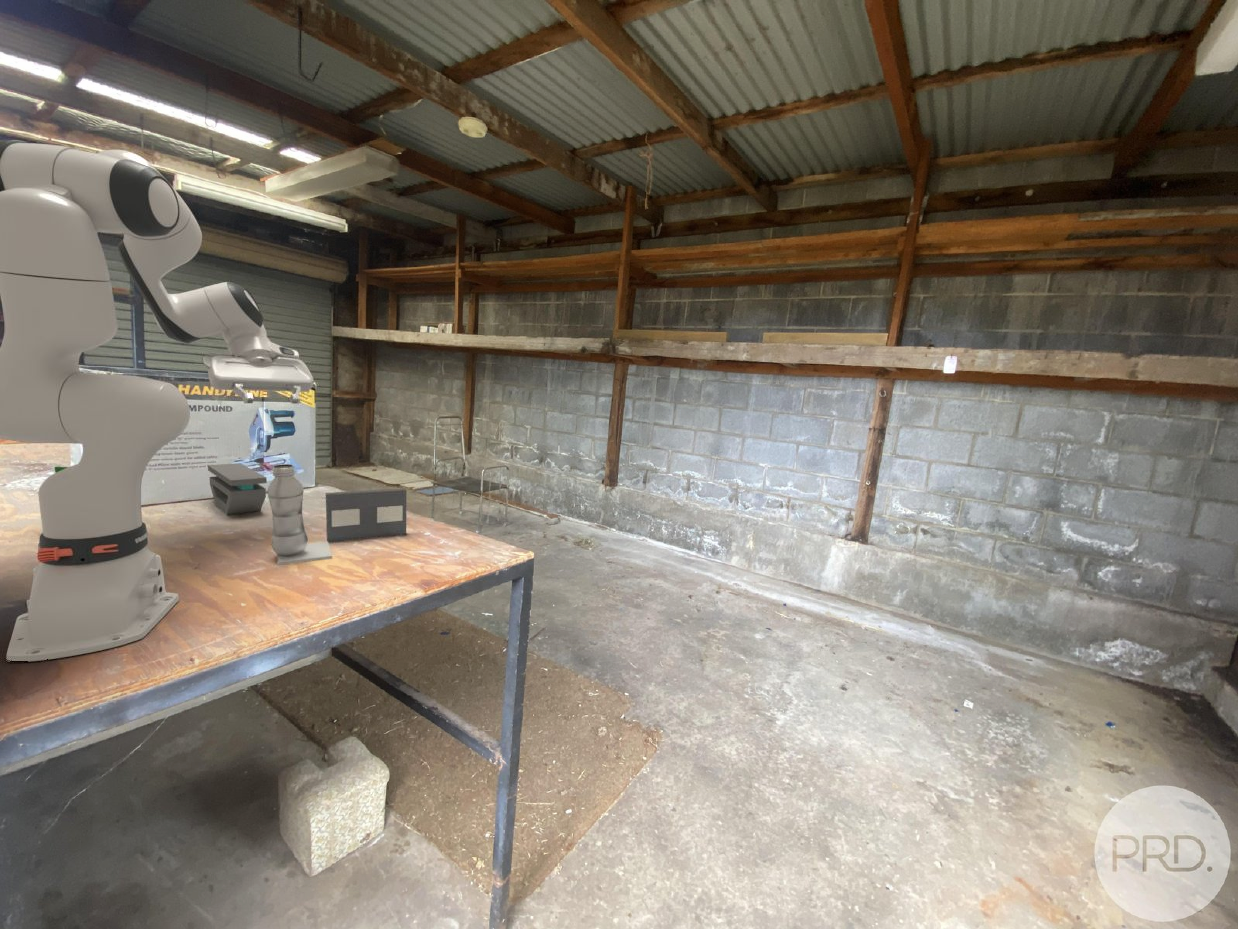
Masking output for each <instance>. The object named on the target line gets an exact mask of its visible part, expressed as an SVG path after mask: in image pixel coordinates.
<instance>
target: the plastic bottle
mask: <svg viewBox="0 0 1238 929" xmlns="http://www.w3.org/2000/svg"><path fill="white" fill-rule="evenodd" d="M295 474H296V471H295V467H294V465H293V464H291V463H290V464H289V463H281V464H275V465H273V466H272V476H274V477H273V479H272V481H271V482H270V483H269V485H268V487H267V489H266V495H267V498H268V500H269V501H268V502H269V505H270V509H271V516H272V536H271V547H272V550H273V552H274V553H275V554H276V555H277V556H278V555H293V554H297V553H300V552H302V551H303V550H304V549H305V548H306V546H307V543H308V541H309V540H308V536H307V532H306V530H305V524H304V520H303V519H304V518H303V500H304V490H305V489H304V486H303V484H302V483H301V482H300V480H298V479H297V478H296V477H295Z"/></svg>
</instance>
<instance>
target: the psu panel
mask: <svg viewBox="0 0 1238 929" xmlns="http://www.w3.org/2000/svg"><path fill="white" fill-rule="evenodd" d="M325 518H326V519H325V521H326V522H325V523H326V525H325V526H326V541H328V544H329V543H338V542H349V541H357V540H358V541H359V540H367V539H376V538H377V539H378V538H386V537H395V536H406V535H407V489H406V488H391V489H390V488H389V489H371V490H354V491H353V490H352V491H339V492H338V491H337V492H336V491H335V492H334V491H333V492H325Z"/></svg>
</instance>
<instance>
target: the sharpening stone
mask: <svg viewBox="0 0 1238 929" xmlns="http://www.w3.org/2000/svg"><path fill="white" fill-rule="evenodd" d="M207 471H208V472H209V473H211V474H212V475H214V476H209V485H210V490H211V493H212V496H213V500H214V504H215V507H216V508H217V509H219V510H220V511H221V512H223V514H225V515H227V516H228V515H229V516H230V515H235V514H245V513H252V512H260V511H261V510H262V507H263V505H264V504H265V500H266V498H267V497H266V496H267V488H266V487H264V486H262V485H260V484H267V483H268V482H267V480H268V479H267V477H266V476H264V475H263V474H260V473H259V472H258V471H255V470H253V469H252V468H250V467H247V466H246V465H244V464H243V463H239V462H238V463H225V464H224V463H223V464H209V465H208V464H207Z"/></svg>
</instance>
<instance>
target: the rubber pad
mask: <svg viewBox="0 0 1238 929" xmlns="http://www.w3.org/2000/svg"><path fill="white" fill-rule="evenodd" d="M329 559H333V554H332V551H331V548H330V544H329V543H328V541H327V540H326V541H316V542H307V546H306V548H305V549H304V550H303V551H302V552H300V553H297V554H293V555H278V554H277V564H278V565H279V566H280V565H288V564H297V563H304V562H305V563H307V562H313V561H320V560H321V561H322V560H329Z"/></svg>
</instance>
